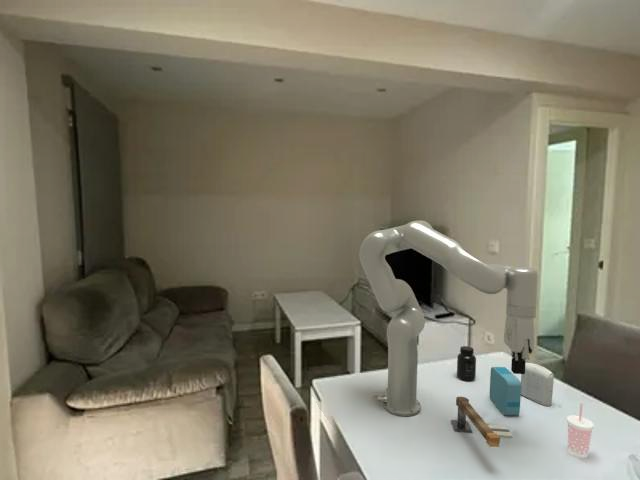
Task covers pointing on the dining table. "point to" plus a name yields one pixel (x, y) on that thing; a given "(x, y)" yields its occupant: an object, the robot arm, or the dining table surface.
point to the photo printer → (537, 384)
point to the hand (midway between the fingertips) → (518, 372)
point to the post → (461, 423)
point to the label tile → (501, 431)
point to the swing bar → (478, 422)
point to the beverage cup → (579, 434)
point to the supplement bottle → (466, 364)
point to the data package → (505, 390)
